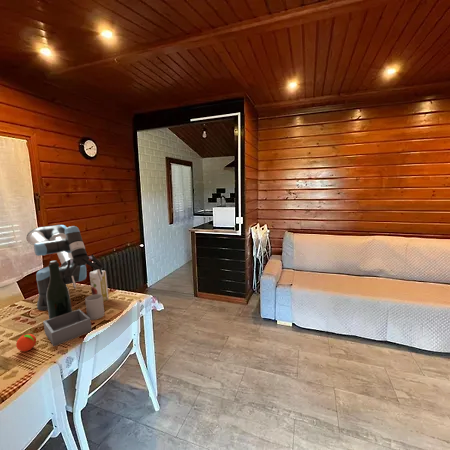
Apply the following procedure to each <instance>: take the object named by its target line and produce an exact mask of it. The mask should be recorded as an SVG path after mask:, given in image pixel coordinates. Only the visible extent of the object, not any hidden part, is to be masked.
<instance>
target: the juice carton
mask: <svg viewBox="0 0 450 450" xmlns="http://www.w3.org/2000/svg"><path fill="white" fill-rule="evenodd" d="M101 276H102V281H100V279H99V276H98V273H97V269H94V270H93V271H90V272H89V280H90V281H89V282H90V288H91V295H95V294H101V295H102V297H103V303H105V301H109V287H108V279H107V271H106V270H102V275H101Z"/></svg>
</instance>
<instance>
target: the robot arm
mask: <svg viewBox="0 0 450 450" xmlns="http://www.w3.org/2000/svg"><path fill="white" fill-rule="evenodd" d="M26 241H27V243H29V244H30V245H32V246H33V249H34V250H33V251H34V253H35V254H34V255H36V256H37V257H39V256H47V255H51V254H52V255H53V254H57V257H58V260H59V262H60V263H61V265H60V266H59V270H60V275H61V278H62V280H63V281H64V283H65V284H66V286H67V285H71V284H72V286H73V289H76V288H77V285H76V283H79V282H82V281H85V280H86V279H87V266H90V267H92V268H93V269H94V270H97V273H98V276H99V279H100V281H102V276H101V275H102V271H103V270H102V269H103V268H104V267H105V266H104V264H103V263H102V262H100V261H99V260H98V259H97V258H96V257H95V255H94V254H91V255H88V253H87V251H86V246H85V244H84V241H83V237H82V235H81V231H80V229H79V227H77V226H75V225H71V226H68V227H67V226H66V225H64V224H56V225H55V224H54V225H47V226H38V227H36V228H34V229H31V230H30V231H29V232H27V234H26ZM35 276H36V279H35V280H36V283H37V289H38V298H37V304H36V308H37V310H39V311H48V306H47V296H46V294H47V289H48V285H49V282H50V270H49V266H46V267H43V268H41V269H39V270H38V271H37V272H36V274H35Z"/></svg>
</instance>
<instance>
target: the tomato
mask: <svg viewBox="0 0 450 450" xmlns="http://www.w3.org/2000/svg"><path fill="white" fill-rule="evenodd" d="M36 343H37V337H36V336H35V335H34V334H32V333H26V334H25V333H24V334H23V335H21V336H20V337H18V339H17V341H16V344H15V347H16V349H17V350H18V351H20V352H28V351H30V350H32V349H33V348H34V347H35V345H36Z"/></svg>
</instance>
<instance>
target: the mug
mask: <svg viewBox="0 0 450 450" xmlns="http://www.w3.org/2000/svg"><path fill="white" fill-rule="evenodd" d="M84 303H85V310H86V315H87V316H88V317H89V318H90V319H91V321H94V320H98V319H101V318H103V317H105V308H104V307H105V306H104V302H103V297H102V295H101V294H95V295H92V294H91V295H89V296H86V297H85V299H84Z"/></svg>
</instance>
